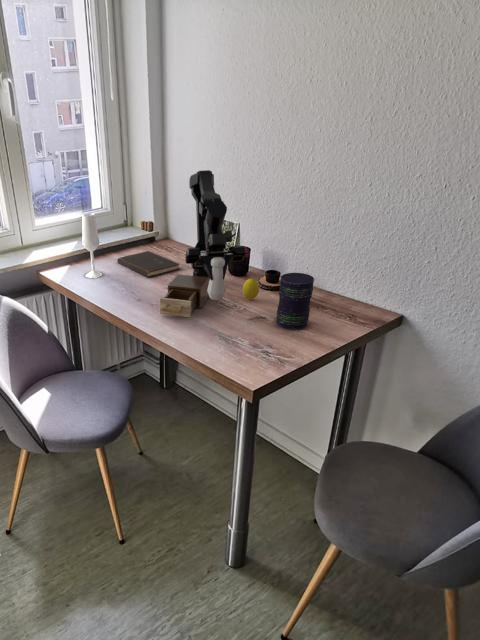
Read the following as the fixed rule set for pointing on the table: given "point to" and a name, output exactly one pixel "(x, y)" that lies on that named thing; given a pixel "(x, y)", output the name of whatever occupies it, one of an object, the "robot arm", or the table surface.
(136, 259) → the hardcover book
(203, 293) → the cabinet
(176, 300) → the drawer
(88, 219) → the champagne flute
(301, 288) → the storage jar
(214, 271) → the white bowling pin
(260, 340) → the table surface
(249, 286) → the lemon
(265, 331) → the table surface
